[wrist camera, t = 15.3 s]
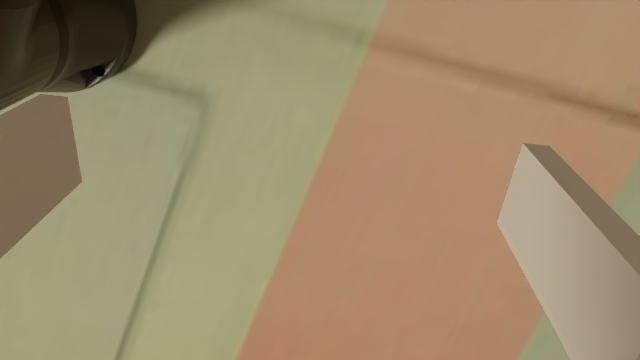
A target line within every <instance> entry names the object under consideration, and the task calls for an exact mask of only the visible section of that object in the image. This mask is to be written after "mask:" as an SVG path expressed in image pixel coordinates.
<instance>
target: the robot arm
mask: <svg viewBox="0 0 640 360" xmlns="http://www.w3.org/2000/svg"><path fill="white" fill-rule="evenodd" d="M135 35H136V10H135V4H134V0H0V110H2V109H4V108H6V107H8V106H10V105H12V104H14V103H16V102H18V101H20V100H22V99H24V98H26V97H28V96H30V95H32V94H34V93H36V92H75V91H80V90H84V89H88V88H91V87H93V86H95V85H97V84H99V83H101V82H102V81H104V80H106V79H107V78H109V77H111V76H112V75H113V74H115V73H116V72H117V71H118V70H119V69H120V68H121V67H122V66H123V64H124V63H125V61H126V60H127V58H128V56H129V54H130V52H131V50H132V47H133V44H134V40H135ZM81 182H82V178H81V173H80V167H79V161H78V155H77V149H76V144H75V138H74V132H73V126H72V120H71V114H70V109H69V103H68V97H63V96H53V95H43V94H40V95H38V96H36V97H35V98H33V99H31V100H29V101H27V102H25V103H23V104H21V105H19V106H17V107H15V108H13V109H12V110H10V111H8V112H6V113H4V114H2V115H0V258H1V257H2V256H3V255H5V254H6V253H7V252H8V251H9V250H10V249H11V248H12V247H13V246H14V245H15V244H16V243H17V242H18V241H19V240H20V239H22V238H23V237H24V236H25V235H26V234H27V233H28V232H29V231H30V230H31V229H32V228H33V227H34V226H35V225H36V224H37V223H39V222H40V221H41V220H42V219H43V218H44V217H45V216H46V215H47V214H48V213H49V212H50V211H51V210H52V209H53V208H54V207H56V206H57V205H58V204H59V203H60V202H61V201H62V200H63V199H64V198H65V197H66V196H67V195H68V194H69V193H70V192H71V191H73V190H74V189H75V188H76V187H77V186H78V185H79V184H80V183H81ZM497 224H498V226H499V228H500V230H501V232H502V234H503V235H504V237H505V239H506V241H507V243H508V245H509V246H510V248H511V250H512V252H513V254H514V256H515V257H516V259H517V261H518V263H519V265H520V267H521V269H522V270H523V272H524V274H525V276H526V278H527V280H528V281H529V283H530V285H531V287H532V289H533V291H534V292H535V294H536V296H537V298H538V300H539V302H540V303H541V305H542V307H543V309H544V311H545V313H546V315H547V316H548V318H549V320H550V322H551V324H552V326H553V327H554V329H555V331H556V333H557V335H558V337H559V338H560V340H561V342H562V344H563V346H564V348H565V350H566V351H567V353H568V355H569V357H570V359H571V360H640V236H639V235H638V234H637V233H636V232H635V231H634V230H633V229H632V228H631V227H630V226H629V225H628V224H627V223H626V222H625V221H624V220H623V219H622V218H621V217H620V216H619V215H618V214H617V213H616V212H615V211H614V210H613V209H612V208H611V207H610V206H609V205H608V204H607V203H606V202H605V201H604V200H603V199H602V198H601V197H600V196H599V195H598V194H597V193H596V192H595V191H594V190H593V189H592V188H591V187H590V186H589V185H588V184H587V183H586V182H585V181H584V180H583V179H582V178H581V177H580V176H579V175H578V174H577V173H576V172H575V171H574V170H573V169H572V168H571V167H570V166H569V165H568V164H567V163H566V162H565V161H564V160H563V159H562V158H561V157H560V156H559V155H558V154H557V153H556V152H555V151H554V150H553V149H552V148H551V147H550V146H545V145H535V144H525V143H523V145H522V148H521V151H520V154H519V157H518V160H517V163H516V166H515V169H514V172H513V175H512V178H511V182H510V185H509V188H508V191H507V194H506V197H505V200H504V203H503V206H502V209H501V212H500V215H499V218H498V221H497Z"/></svg>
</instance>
